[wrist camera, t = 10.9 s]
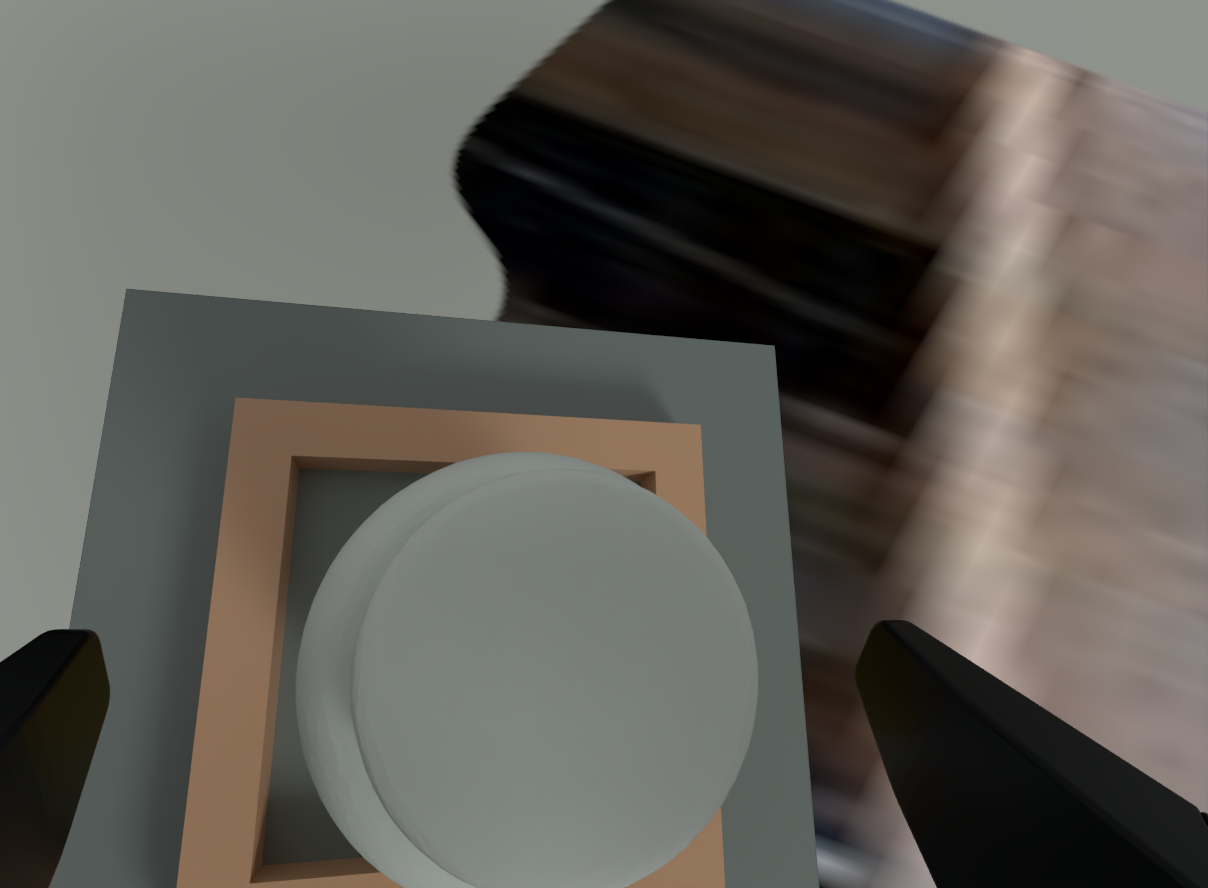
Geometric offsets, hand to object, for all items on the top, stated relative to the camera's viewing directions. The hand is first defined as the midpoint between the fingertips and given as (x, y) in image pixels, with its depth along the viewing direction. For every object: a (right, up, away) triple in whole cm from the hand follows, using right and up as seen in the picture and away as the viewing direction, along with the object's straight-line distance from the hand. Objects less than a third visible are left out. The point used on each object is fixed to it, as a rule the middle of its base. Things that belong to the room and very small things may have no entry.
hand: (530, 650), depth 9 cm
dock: (-2, -2, +9) cm, 9 cm away
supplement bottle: (-2, -2, +8) cm, 9 cm away
